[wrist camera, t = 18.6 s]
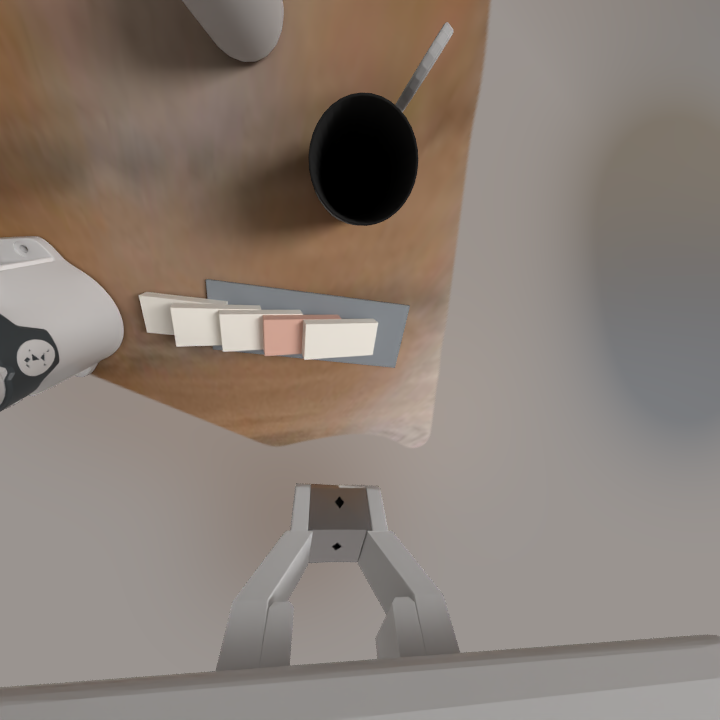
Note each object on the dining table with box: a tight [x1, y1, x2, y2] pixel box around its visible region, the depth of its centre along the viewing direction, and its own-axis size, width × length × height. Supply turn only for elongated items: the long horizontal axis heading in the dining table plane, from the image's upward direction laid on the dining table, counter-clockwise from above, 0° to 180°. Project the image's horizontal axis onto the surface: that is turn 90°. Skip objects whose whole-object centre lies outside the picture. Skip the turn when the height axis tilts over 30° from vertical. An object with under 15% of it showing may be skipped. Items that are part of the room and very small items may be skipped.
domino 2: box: [170, 303, 261, 347], centre depth 37 cm, size 2×5×10 cm
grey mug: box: [309, 22, 453, 226], centre depth 25 cm, size 9×14×15 cm, turn 144°
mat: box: [206, 279, 410, 368], centre depth 41 cm, size 27×10×1 cm, turn 81°
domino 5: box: [302, 319, 378, 360], centre depth 39 cm, size 2×5×10 cm
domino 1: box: [139, 292, 228, 335], centre depth 38 cm, size 2×5×10 cm
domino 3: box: [219, 310, 303, 352], centre depth 38 cm, size 2×5×10 cm
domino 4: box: [263, 315, 341, 356], centre depth 38 cm, size 2×5×10 cm
